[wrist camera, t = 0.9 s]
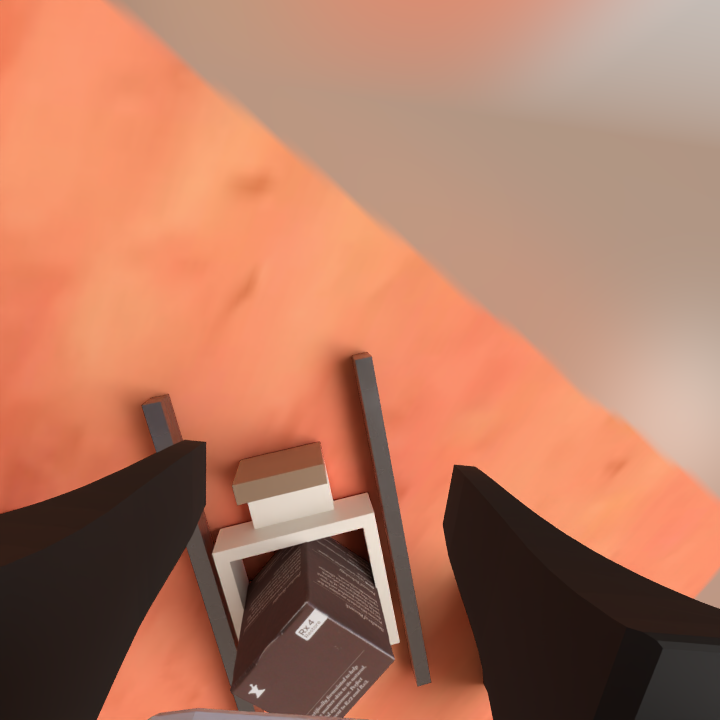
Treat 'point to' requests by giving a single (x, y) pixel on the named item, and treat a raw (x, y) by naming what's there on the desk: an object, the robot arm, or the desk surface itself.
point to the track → (202, 544)
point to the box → (311, 632)
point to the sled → (292, 521)
